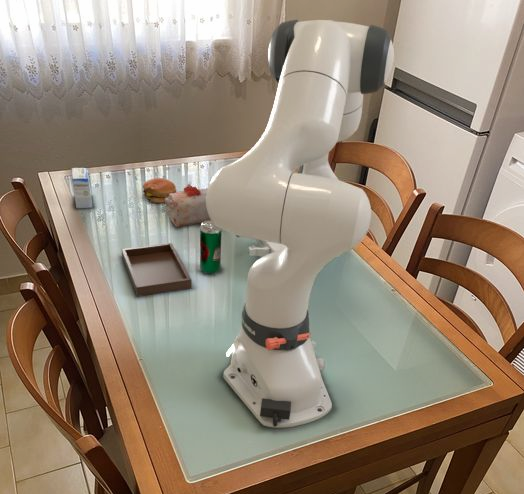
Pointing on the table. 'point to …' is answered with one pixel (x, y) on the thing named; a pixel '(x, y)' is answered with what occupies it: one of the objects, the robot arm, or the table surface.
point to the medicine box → (81, 188)
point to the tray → (155, 269)
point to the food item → (187, 206)
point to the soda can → (210, 247)
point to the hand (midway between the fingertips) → (242, 242)
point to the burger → (158, 189)
